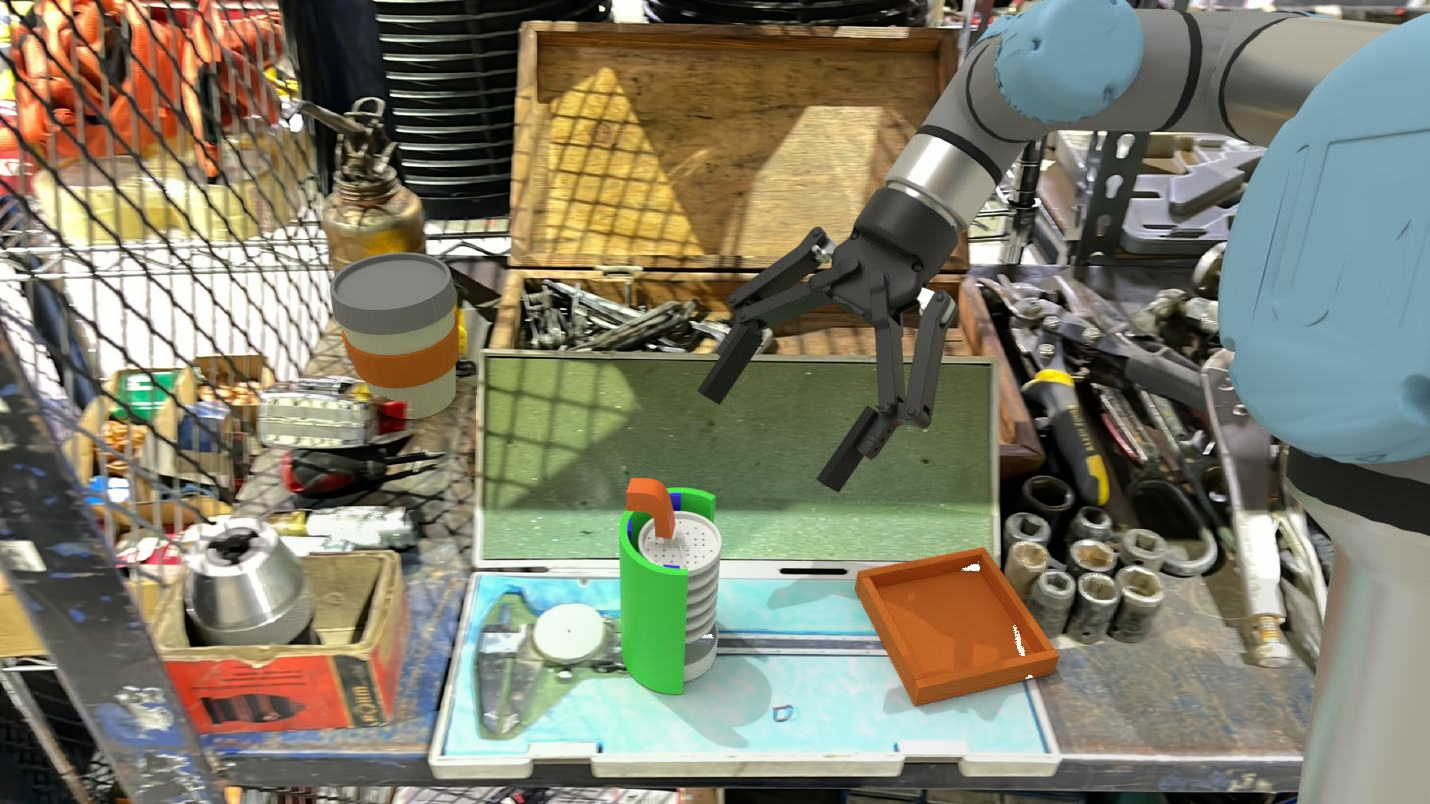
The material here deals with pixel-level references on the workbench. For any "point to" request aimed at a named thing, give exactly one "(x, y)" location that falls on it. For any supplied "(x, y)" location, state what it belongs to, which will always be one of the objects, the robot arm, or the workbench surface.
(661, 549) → the green-shelled ribbed roller
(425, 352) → the reusable coffee cup
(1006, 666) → the shallow square tray
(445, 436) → the workbench surface
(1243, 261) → the robot arm
